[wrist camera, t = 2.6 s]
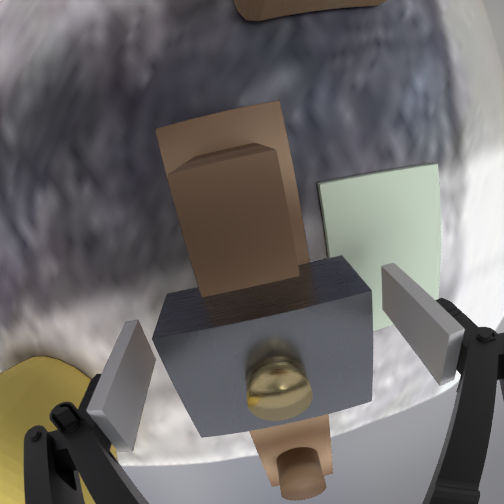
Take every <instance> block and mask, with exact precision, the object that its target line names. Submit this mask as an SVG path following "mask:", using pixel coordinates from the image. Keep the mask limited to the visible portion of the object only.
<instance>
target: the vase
mask: <svg viewBox="0 0 504 504" xmlns="http://www.w3.org/2000/svg"><path fill="white" fill-rule="evenodd" d="M90 381H91V379H90V378H89V377H87V376H86V375H85V374H83V373H82V372H80V371H79V370H78V369H76V368H75V367H73V366H71V365H69V364H67V363H65V362H63V361H61V360H58V359H54V358H50V357H46V356H39V357H31V358H29V359H27V360H25V361H23V362H21V363H19V364H17V365H15V366H13V367H11V368H9V369H8V370H6V371H4V372H2V373H1V374H0V504H25V493H24V437H25V434H26V433H27V431H28V430H29V429H30V428H32V427H34V426H37V425H41V426H43V427H44V428H45V429H46V430H47V431H48V432H51V431H55V430H58V429H57V428H56V427H55V425H54V424H53V423H52V422H51V420H50V416H49V415H50V413H51V411H52V409H53V408H54V407H55V406H56V405H58V404H60V403H62V402H72V403H73V404H74V405H75V407H76V408H77V409H78V408H79V405H80V403H81V401H82V399H83V396H84V394H85V392H86V390H87V387H88V385H89V383H90ZM110 451H111V453H112V454H113V455H114V457H115V458H116V460H117V453H116V448H115V447H114V446H113V445H112V444H111V448H110ZM79 477H80V482H81V487H82V492H83V496H84V501H85V504H96V503H95V502H94V500H93V498H92V496H91V495H90V493H89V491H88V489H87V487H86V486H85V484H84V482H83V480H82V478H81V476H80V474H79Z"/></svg>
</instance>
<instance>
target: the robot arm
mask: <svg viewBox="0 0 504 504" xmlns="http://www.w3.org/2000/svg"><path fill="white" fill-rule="evenodd" d="M381 275H382V310H383V311H384V312H385V314H386V315H387V316H388V317H389V319H390V320H391V321H392V323H393V324H394V325H395V326H396V328H397V329H398V330H399V332H400V333H401V334H402V336H403V337H404V338H405V339H406V341H407V342H408V343H409V345H410V346H411V347H412V349H413V350H414V351H415V353H416V354H417V355H418V357H419V358H420V359H421V361H422V362H423V364H424V365H425V366H426V368H427V369H428V370H429V372H430V373H431V375H432V376H433V377H434V379H435V380H436V382H437V383H438V384H439V386H441V385H443V384H445V383H448V382H450V381H452V380H454V377H455V373H456V369H457V371H458V372H459V373H460V374H461V377H460V381H459V385H458V388H457V396H456V400H455V404H454V409H453V413H452V417H451V421H450V424H449V428H448V432H447V435H446V439H445V442H444V445H443V448H442V452H441V455H440V458H439V461H438V464H437V467H436V470H435V472H434V475H433V478H432V481H431V484H430V486H429V488H428V491H427V494H426V497H425V499H424V501H423V503H422V504H478V502H479V498H480V491H479V490H478V487H479V483H480V479H481V475H482V471H483V467H484V463H485V458H486V453H487V448H488V443H489V438H490V432H491V426H492V419H493V412H494V404H495V395H496V384H497V380H500V385H501V390H502V395H503V400H504V333H500V334H497V333H496V332H495V331H494V330H493V329H491V328H487V327H478V326H477V325H475V324H474V323H473V322H472V321H471V320H470V319H469V318H468V317H467V316H466V315H465V314H464V313H462V311H460V310H459V309H457V307H456V306H455V305H454V304H453V303H452V302H450V301H448V300H446V299H443V298H440V299H437V300H434V299H433V298H432V297H431V296H430V295H429V294H428V293H427V292H426V291H425V290H424V289H423V288H421V287H420V286H419V285H418V284H417V283H416V282H415V281H414V280H413V279H412V278H410V277H409V276H408V275H407V274H406V273H405V272H404V271H403V270H401V269H400V268H399V267H398V266H397V265H396V264H395V263H390V264H386V265H383V266H381ZM155 361H156V358H155V356H154V354H153V352H152V350H151V348H150V345H149V343H148V341H147V339H146V336H145V334H144V332H143V330H142V327H141V325H140V323H139V321H138V320H134V321H129V322H126V323H125V325H124V327H123V329H122V331H121V333H120V335H119V337H118V339H117V342H116V344H115V346H114V348H113V350H112V352H111V355H110V357H109V359H108V361H107V363H106V366H105V368H104V370H103V373H102V374H97V375H96V376H95V377H94V378H93V379H92V380H91V381H90V383H89V385H88V387H87V390H86V392H85V394H84V396H83V399H82V401H81V403H80V405H79V408H78V409H77V408H76V407H75V405H74V404H73V403H72V402H62V403H60V404H58V405H56V406H55V407H54V408H53V409H52V411H51V413H50V415H49V416H50V420H51V422H52V423H53V424H54V425H55V427H56V428H57V429H58V430H55V431H51V432H48V431H47V430H46V429H45V428H44V427H43V426H41V425H37V426H34V427H32V428H30V429H29V430H28V431H27V433H26V434H25V437H24V493H25V504H85V501H84V496H83V492H82V487H81V482H80V477H79V474H80V476H81V478H82V480H83V482H84V484H85V486H86V487H87V489H88V491H89V493H90V495H91V496H92V498H93V500H94V502H95V503H96V504H149V503H148V502H147V500H146V499H145V498H144V497H143V495H142V494H141V493H140V491H139V490H138V489H137V487H136V486H135V485H134V484H133V482H132V481H131V479H130V478H129V477H128V475H127V474H126V473H125V471H124V470H123V468H122V467H121V465H120V464H119V463H118V461H117V460H116V458H115V457H114V455H113V454H112V453H111V451H110V448H111V444H112V445H113V446H114V447H115V448H116V450H117V451H121V452H128V451H133V449H134V445H135V441H136V436H137V432H138V428H139V424H140V419H141V415H142V411H143V407H144V403H145V399H146V395H147V391H148V387H149V384H150V380H151V376H152V372H153V369H154V365H155Z"/></svg>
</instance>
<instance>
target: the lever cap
mask: <svg viewBox="0 0 504 504" xmlns="http://www.w3.org/2000/svg"><path fill="white" fill-rule="evenodd" d="M298 268H299V274H300V276H297V277H293V278H289V279H284V280H280V281H275V282H271V283H267V284H262V285H258V286H253V287H249V288H244V289H239V290H235V291H230V292H226V293H221V294H216V295H211V296H207V297H202V296H201V293H200V290H199V287H198V288H193V289H188V290H183V291H179V292H174V293H169V294H167V296H166V299H165V301H164V304H163V307H162V310H161V313H160V316H159V319H158V322H157V325H156V328H155V331H154V334H153V337H152V340H153V342H154V345H155V347H156V349H157V351H158V353H159V356H160V358H161V360H162V362H163V364H164V366H165V368H166V370H167V372H168V375H169V377H170V379H171V381H172V383H173V385H174V387H175V389H176V391H177V393H178V395H179V397H180V399H181V400H182V402H183V404H184V406H185V408H186V410H187V412H188V414H189V416H190V417H191V419H192V421H193V423H194V425H195V427H196V428H197V430H198V432H199V434H200V436H201V437H210V436H218V435H226V434H233V433H239V432H246V431H252V430H257V429H263V428H268V427H273V426H278V425H283V424H288V423H293V422H297V421H301V420H306V419H310V418H314V417H318V416H322V415H326V414H330V413H333V412H337V411H340V410H344V409H347V408H351V407H354V406H358V405H361V404H364V403H367V402H370V401H372V380H373V306H372V290H371V289H370V288H369V286H368V285H367V284H366V283H365V282H364V280H363V279H362V278H361V277H360V276H359V275H358V273H357V272H356V271H355V270H354V269H353V267H352V266H351V265H350V264H349V263H348V262H347V260H346V259H345V258H344V257H343V256H342V255H340V256H336V257H331V258H327V259H323V260H319V261H314V262H310V263H306V264H301V265H298Z"/></svg>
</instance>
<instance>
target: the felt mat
mask: <svg viewBox="0 0 504 504" xmlns="http://www.w3.org/2000/svg"><path fill="white" fill-rule="evenodd" d="M317 186H318V192H319V198H320V204H321V211H322V217H323V224H324V231H325V238H326V245H327V253H328V258H331V257H336V256H340V255H342V256H343V257H344V258H345V259H346V260H347V262H348V263H349V264H350V265H351V266H352V267H353V269H354V270H355V271H356V272H357V273H358V275H359V276H360V277H361V278H362V279H363V280H364V282H365V283H366V284H367V285H368V286H369V288H370V289H371V290H372V306H373V331H375V330H378V329H382V328H385V327H388V326H391V325H394V324H393V323H392V321H391V320H390V319H389V317H388V316H387V315H386V314H385V312H384V311H383V310H382V275H381V266H383V265H386V264H390V263H395V264H396V265H397V266H398V267H399V268H400V269H401V270H403V271H404V272H405V273H406V274H407V275H408V276H409V277H410V278H412V279H413V280H414V281H415V282H416V283H417V284H418V285H419V286H420V287H421V288H423V289H424V290H425V291H426V292H427V293H428V294H429V295H430V296H431V297H432V298H433V299H434V300H437V299H438V296H439V281H440V258H441V211H440V188H439V173H438V164H435V163H430V164H423V165H416V166H410V167H403V168H397V169H391V170H385V171H379V172H373V173H367V174H361V175H356V176H350V177H345V178H339V179H334V180H329V181H323V182H318V183H317Z"/></svg>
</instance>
